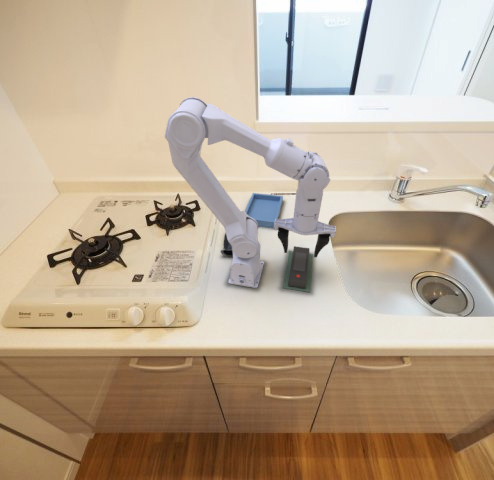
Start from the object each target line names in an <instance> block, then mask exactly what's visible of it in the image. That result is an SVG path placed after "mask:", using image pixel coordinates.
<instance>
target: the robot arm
mask: <svg viewBox="0 0 494 480" xmlns="http://www.w3.org/2000/svg"><path fill="white" fill-rule="evenodd" d="M164 132H165V133H164V139H165V140H166V141H167V144H168V147H169V152H170V158H171V163H172V166H173V167H174V168H175V170H177V172H178V173H179V174H180V176H181V177H182V178H183V179H184V180H185V182H186V183H187V184H188V185H189V186H190V188H191V189H192V190H193V192H195V194H196V195H197V196H198V198H199V199H200V200H201V201H202V202H203V203H204V205H206V207H207V208H208V209H209V211H210V212H211V213H212V215H214V217H215V218H216V219H217V220H218V222H219V223H220V224H221V225H222V227H223V228H224V231H225V233H226V236H227V239H228V242H229V243H230V244H231V246H232V251H233V256H232V262H231V264H230V267H229V271H230V276H229V277H228V278H229V279H228V284H230V285H236V286H242V287H247V288H253V289H254V288H255V289H257V288H258V287H259V283H260V280H261V277H262V272H263V268H264V265H265V262H264V261H263V260H261V243H260V241H259V232H258V231H259V226H258V223H257V221H256V220H255V219H253V218H251V217H250V216H248V215H247V213H246V212H245V210H240V209H239V207H238V206H237V204H236V203H235V202H234V200H233V199H232V198H231V196H230V195H229V194H228V192H227V191H226V189H225V188H224V187H223V185H222V184H221V183H220V180H218V179H217V177H216V176H215V174H214V173H213V172H212V169H210V168H209V166H208V165H207V163H206V162H205V160H204V159H203V158H202V157H201V152H202V148H203V143H204V140H205V139H207V145H208V146H211V145H214V144H217V143H220V142H223V141H227V142H229V143H231V144H233V145H236V146H238V147H239V148H242V149H244V150H247V151H250V152H252V153H253V154H256V155H258V156H260V157H263V160H264V163H265V165H266V166H267V167H268V168H271V169H273V170H275V171H277V172H279V173H280V174H283V175H285V176H287V177H288V178H291V179H292V180H295V181H297V188H296V191H295V201H294V210H293V211H294V212H293V217H290V218H278V219H275V222H274V228H273V230H274V231H277V238H278V239H279V241H280V242H281V245H282V248H283V253H284V254H288V250H289V249H288V248H289V235H290V234H289V233H290V232H292V233H294V234H298V235H301V236H313V235H317V240H316V242H315V243H316V244H315V247H314V252H313V258H317V257H318V255H319V254H320V252H321V251H322V249H324V247H326V246H327V245H328V244H329V243H330V238H336V233H337V226H336V225H331V224H327V223H325V222H322V221H319V218H320V211H321V206H322V201H323V197H324V190H325V189H326V188H327V187H328V185H329V184H330V182H331V178H330V172H329V169H328V168H327V165H326V163H325V160H324V159H323V158H322V157H321V156H320V155H319V154H318V152H314V151H311V150H308V151H305V150H304V149H302V148H300V147H298V146H296V145H294V141H293V139H291V138H289V137H286V139H284V138H282V137H276V138H274V139H270V138H268V137H266V136H265V135H263V134H261V133H260V132H258V131H256V130H255V129H254V128H251V127H250V126H248V125H247V124H245V123H243V122H242V121H240V120H238V119H237V118H235V117H234V116H232V115H230V114H229V113H227V112H226V111H224V110H222V109H221V108H220V107H217V106H216V105H215V104H212V103H209V102H208V103H206V102H205V101H204V99H201V98H199V97H195V96H190V97H186V98H184V99H183V100H182V101H181V102H180V103H179V106H178V107H177V108H176V110H175V111H174V112H172V113H171V114H170V116H169V117H168V119H167V123H166V127H165V131H164Z"/></svg>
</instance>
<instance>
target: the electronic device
mask: <svg viewBox="0 0 494 480" xmlns="http://www.w3.org/2000/svg"><path fill="white" fill-rule="evenodd" d="M220 253H221V255H222V257H233V251H232V246H231V244H230V243H229V242H228V239H227V236H226V232H225V233H224V237H223V249H220Z"/></svg>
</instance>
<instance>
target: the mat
mask: <svg viewBox="0 0 494 480" xmlns="http://www.w3.org/2000/svg"><path fill="white" fill-rule="evenodd" d="M292 255H293V250H289V251H288V256H287V260H286V261H287V263H286V269H285V274H284V279H283V285H282V289H285V290H293V291H298V292H304V293H311V287H312V272H313V271H312V270H313V259H314V253H309V260H308V271H307V283H306V288H305V289H302V288H296V287H289V286H288V282H289V275H290V268H291V262H292Z"/></svg>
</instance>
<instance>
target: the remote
mask: <svg viewBox="0 0 494 480" xmlns="http://www.w3.org/2000/svg"><path fill="white" fill-rule="evenodd" d="M292 251H293V255H292V262H291V268H290V275H289V282H288V286H289V287H296V288H302V289H305V288H306V283H307V271H308V260H309V254H310V248H309V247H304V246H303V247H302V246H296V245H295V246H293V250H292Z"/></svg>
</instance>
